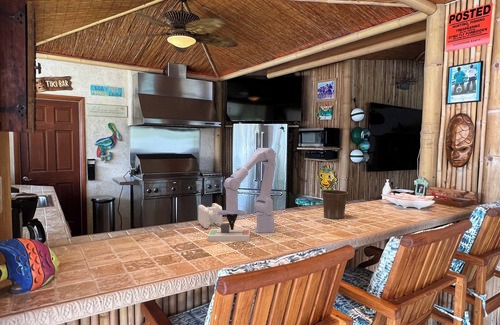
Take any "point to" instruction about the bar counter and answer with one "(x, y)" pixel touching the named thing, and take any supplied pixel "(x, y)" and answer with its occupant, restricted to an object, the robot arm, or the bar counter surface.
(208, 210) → the cable organizer
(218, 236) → the switch plate
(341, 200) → the plant pot
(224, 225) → the knob
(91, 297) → the bar counter surface
